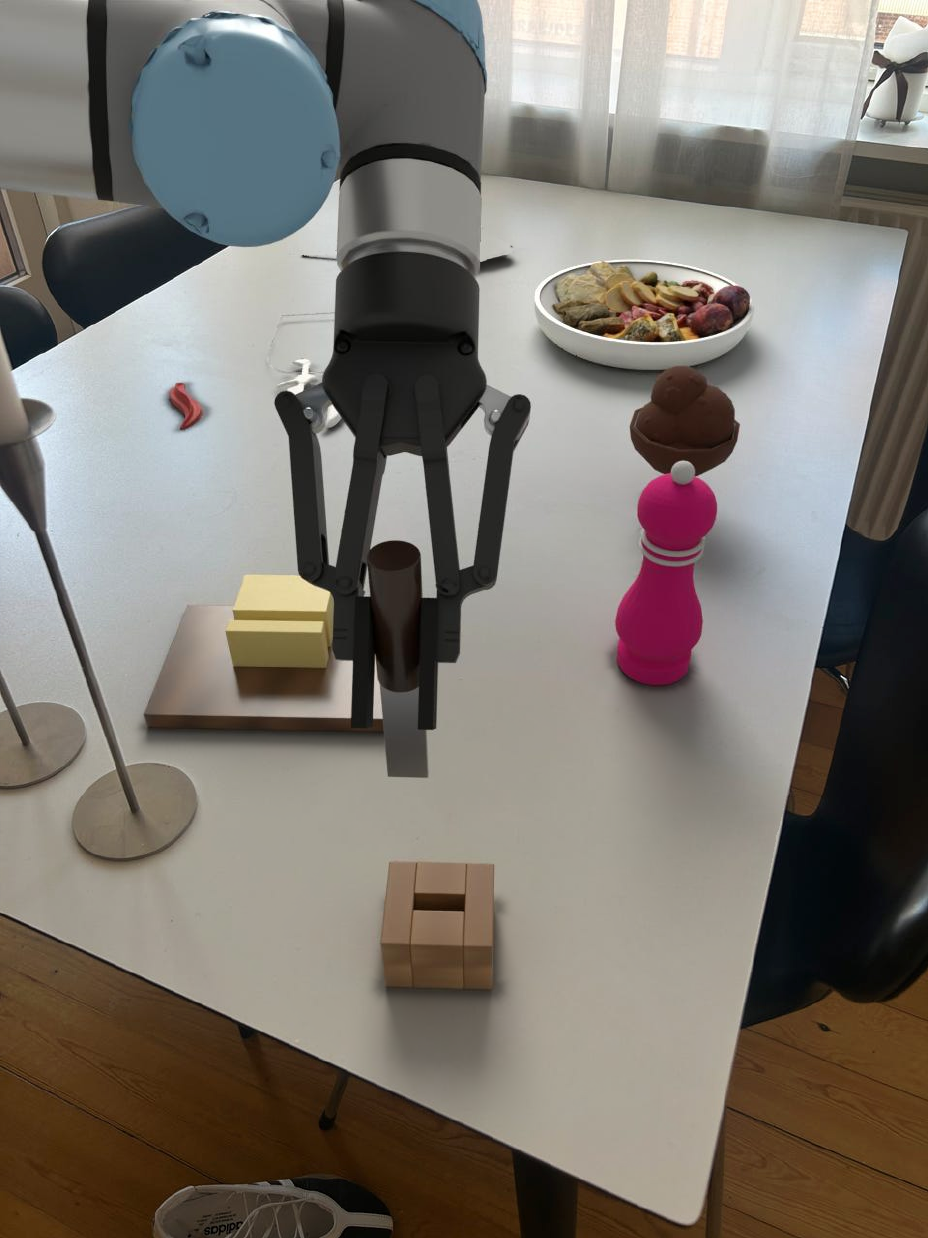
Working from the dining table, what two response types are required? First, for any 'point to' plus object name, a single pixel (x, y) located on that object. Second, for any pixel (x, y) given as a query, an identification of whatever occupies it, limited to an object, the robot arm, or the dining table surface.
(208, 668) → the butter board
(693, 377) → the ice cream bowl
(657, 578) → the pepper mill
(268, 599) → the butter block
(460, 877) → the knife stand
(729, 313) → the bowl
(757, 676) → the dining table surface
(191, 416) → the cayenne pepper
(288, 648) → the butter slice
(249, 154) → the robot arm
